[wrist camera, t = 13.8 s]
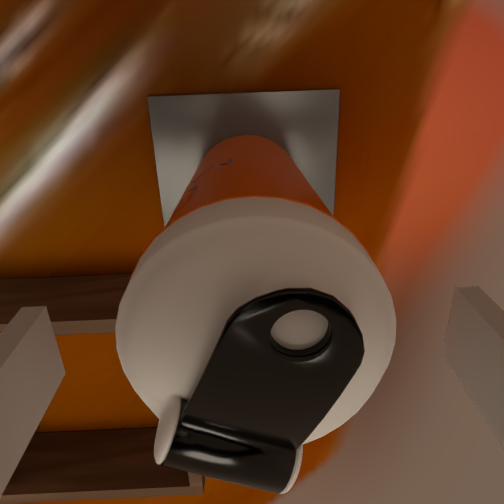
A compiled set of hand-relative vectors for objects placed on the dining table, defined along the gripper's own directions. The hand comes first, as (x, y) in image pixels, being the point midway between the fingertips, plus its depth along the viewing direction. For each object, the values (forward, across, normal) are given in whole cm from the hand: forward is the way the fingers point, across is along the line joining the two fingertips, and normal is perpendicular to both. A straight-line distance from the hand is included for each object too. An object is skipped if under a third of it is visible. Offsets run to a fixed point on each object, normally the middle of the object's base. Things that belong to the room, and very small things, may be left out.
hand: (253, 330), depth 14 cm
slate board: (+17, 0, 0) cm, 17 cm away
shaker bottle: (+17, 0, 0) cm, 17 cm away
